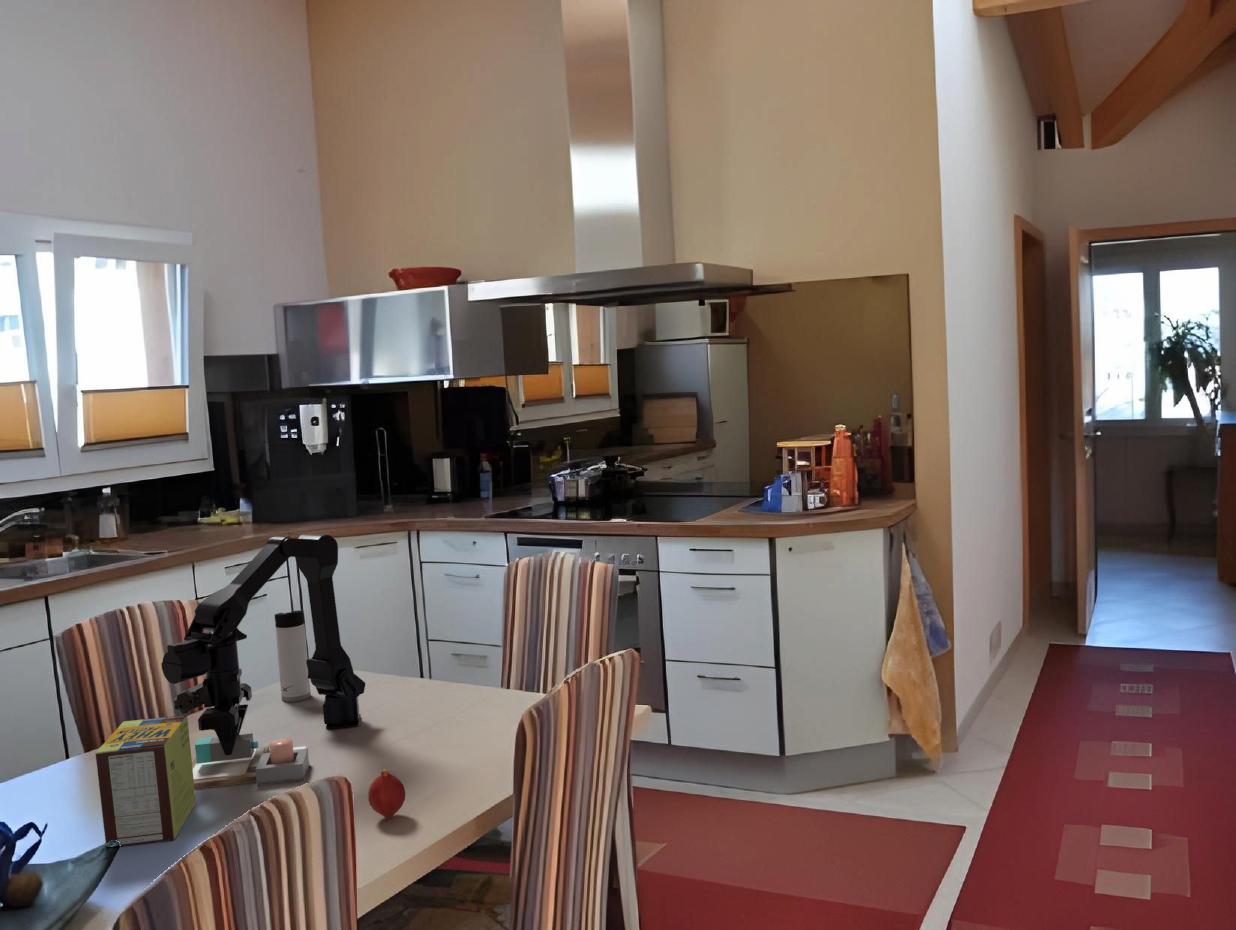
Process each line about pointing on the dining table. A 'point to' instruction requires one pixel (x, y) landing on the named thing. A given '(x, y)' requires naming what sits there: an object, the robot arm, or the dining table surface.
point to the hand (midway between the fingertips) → (230, 751)
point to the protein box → (146, 780)
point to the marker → (213, 750)
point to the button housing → (282, 769)
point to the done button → (281, 751)
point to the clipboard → (227, 771)
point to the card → (299, 748)
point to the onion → (386, 794)
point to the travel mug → (292, 656)
